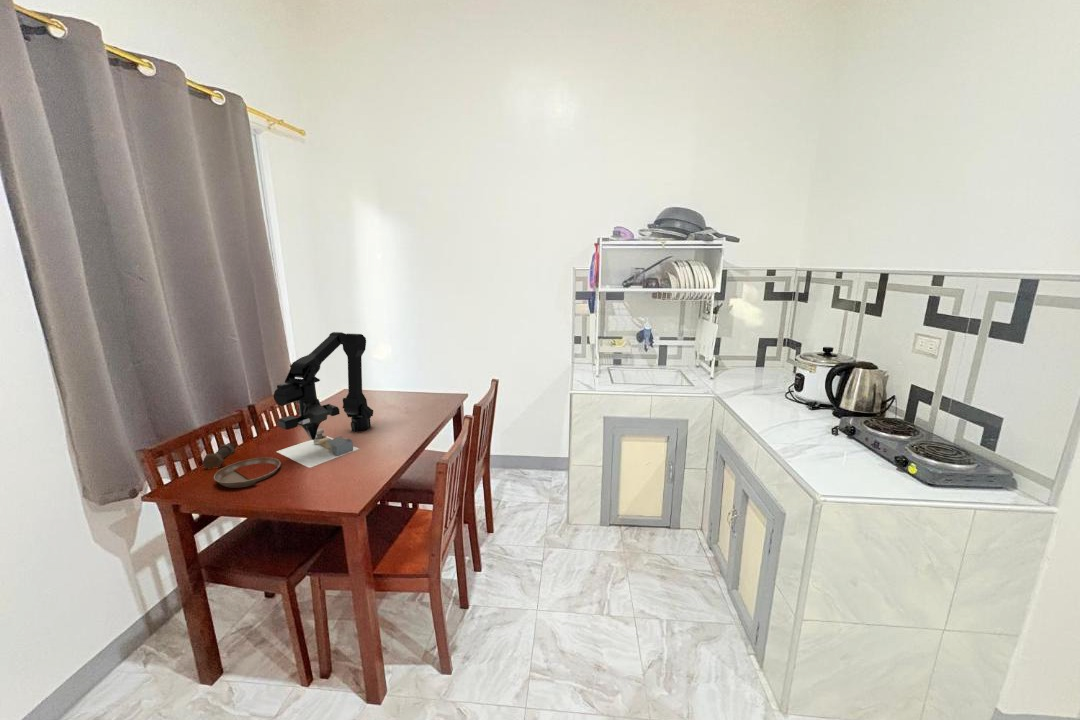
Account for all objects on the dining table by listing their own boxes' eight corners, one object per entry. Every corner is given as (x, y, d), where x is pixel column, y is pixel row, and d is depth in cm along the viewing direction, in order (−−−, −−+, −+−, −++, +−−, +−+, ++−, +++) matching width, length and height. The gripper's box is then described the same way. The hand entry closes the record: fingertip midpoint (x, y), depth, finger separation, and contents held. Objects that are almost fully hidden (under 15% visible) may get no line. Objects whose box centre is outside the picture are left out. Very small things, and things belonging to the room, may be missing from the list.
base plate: (325, 437, 170) (325, 435, 170) (359, 451, 157) (359, 448, 156) (276, 454, 155) (276, 451, 155) (309, 470, 142) (309, 467, 142)
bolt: (235, 455, 159) (216, 472, 145) (220, 450, 158) (199, 467, 144) (242, 441, 159) (223, 457, 145) (227, 436, 158) (207, 452, 143)
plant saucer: (283, 461, 151) (281, 452, 150) (279, 483, 135) (278, 474, 134) (221, 472, 143) (219, 463, 142) (210, 497, 127) (208, 487, 127)
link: (311, 442, 162) (310, 431, 161) (323, 439, 165) (321, 427, 164) (332, 452, 153) (331, 440, 152) (344, 447, 157) (343, 436, 156)
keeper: (342, 445, 159) (341, 436, 158) (353, 450, 155) (352, 440, 154) (326, 451, 154) (325, 441, 154) (337, 456, 150) (336, 446, 150)
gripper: (290, 408, 138) (297, 454, 141) (345, 394, 152) (350, 435, 156) (274, 402, 144) (280, 446, 147) (328, 389, 159) (333, 429, 162)
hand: (313, 439), depth 153 cm, fingers closed
